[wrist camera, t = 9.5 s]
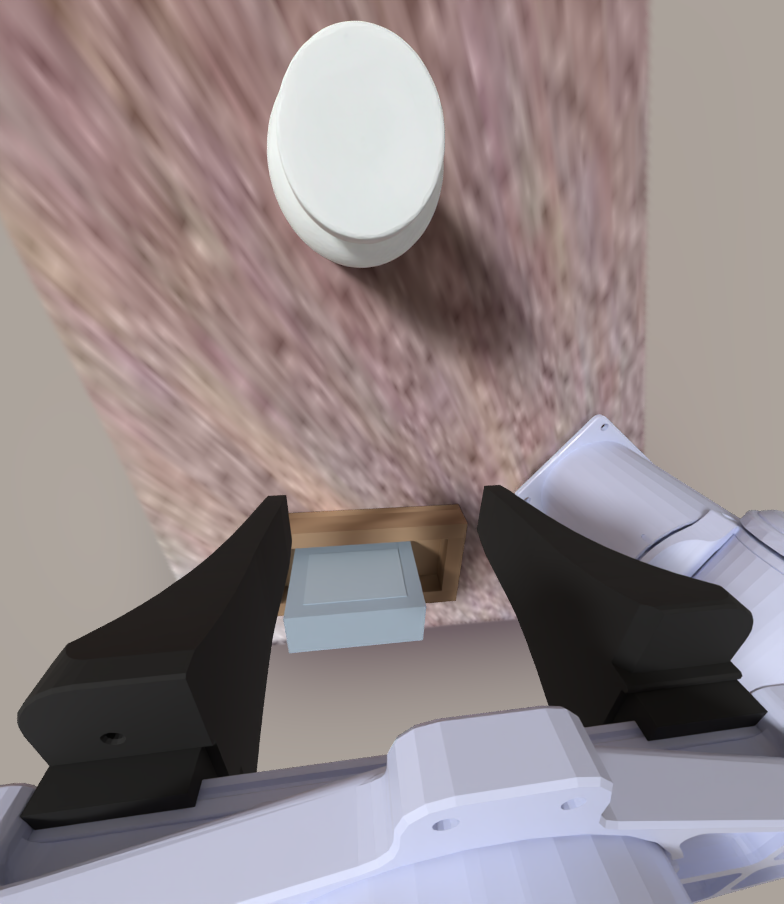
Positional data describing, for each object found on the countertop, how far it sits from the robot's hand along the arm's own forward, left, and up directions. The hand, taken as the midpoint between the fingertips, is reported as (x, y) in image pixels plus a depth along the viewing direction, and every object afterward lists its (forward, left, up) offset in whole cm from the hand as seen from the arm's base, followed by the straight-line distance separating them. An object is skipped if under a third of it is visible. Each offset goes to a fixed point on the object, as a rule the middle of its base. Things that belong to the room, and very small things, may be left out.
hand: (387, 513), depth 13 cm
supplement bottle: (+7, -8, -10) cm, 15 cm away
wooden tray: (-6, +9, -10) cm, 15 cm away
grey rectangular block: (-6, +9, -9) cm, 14 cm away
